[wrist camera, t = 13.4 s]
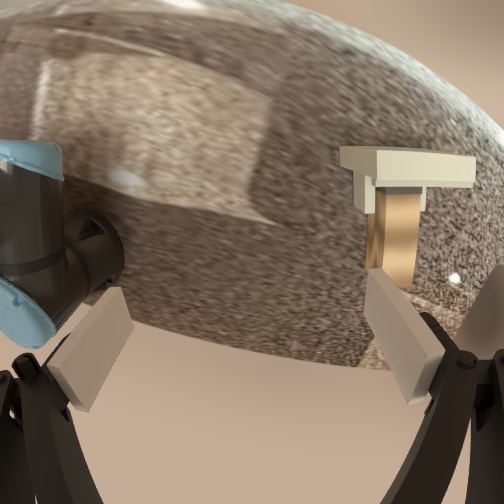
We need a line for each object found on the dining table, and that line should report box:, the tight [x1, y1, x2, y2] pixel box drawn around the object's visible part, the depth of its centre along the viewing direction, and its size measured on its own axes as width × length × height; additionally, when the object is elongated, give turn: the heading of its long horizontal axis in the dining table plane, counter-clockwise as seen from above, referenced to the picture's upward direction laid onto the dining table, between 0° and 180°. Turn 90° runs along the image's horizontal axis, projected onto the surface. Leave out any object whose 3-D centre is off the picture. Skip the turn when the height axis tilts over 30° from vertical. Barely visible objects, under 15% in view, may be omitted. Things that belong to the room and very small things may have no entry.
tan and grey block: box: [365, 187, 422, 288], centre depth 39 cm, size 16×6×7 cm, turn 6°
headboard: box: [339, 146, 476, 214], centre depth 33 cm, size 14×9×14 cm, turn 95°
